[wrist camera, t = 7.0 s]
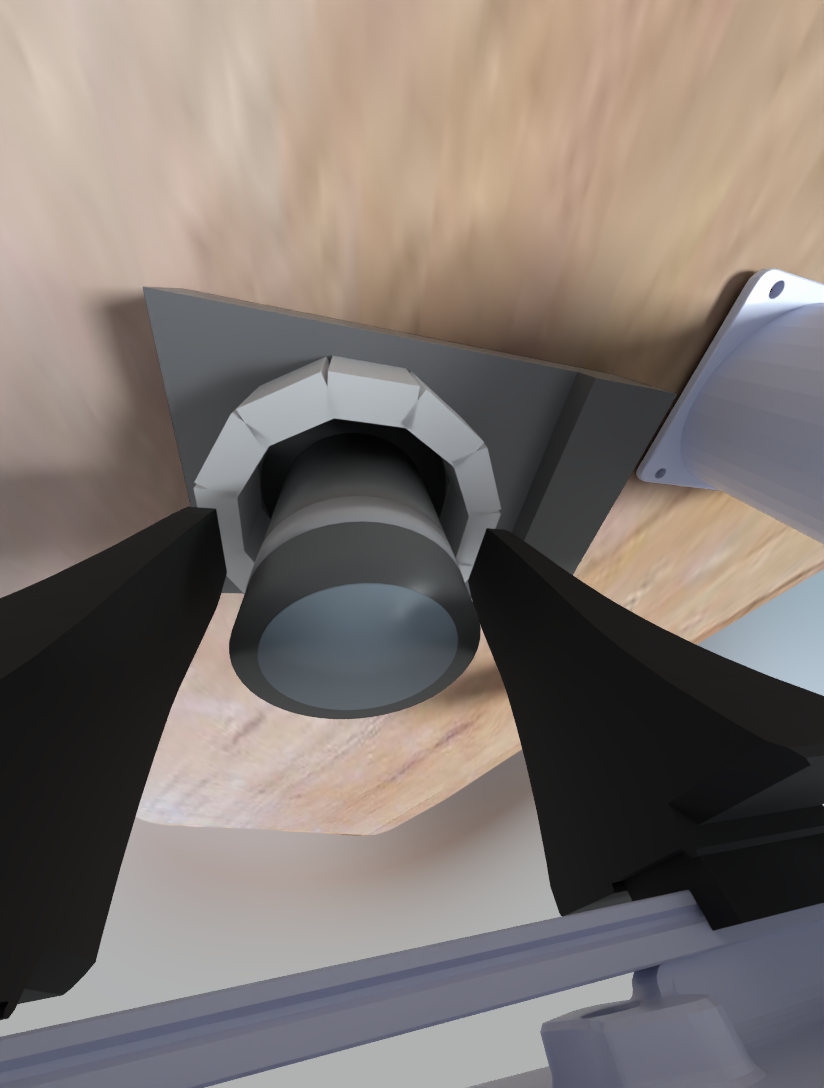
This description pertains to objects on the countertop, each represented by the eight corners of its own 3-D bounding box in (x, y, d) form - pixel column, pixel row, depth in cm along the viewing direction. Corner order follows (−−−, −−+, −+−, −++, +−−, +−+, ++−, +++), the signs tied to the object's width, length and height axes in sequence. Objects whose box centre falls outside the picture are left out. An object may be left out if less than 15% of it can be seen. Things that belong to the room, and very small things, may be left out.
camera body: (609, 373, 13) (719, 406, 9) (519, 568, 19) (565, 640, 15) (183, 288, 10) (74, 283, 6) (227, 554, 16) (185, 643, 12)
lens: (453, 481, 12) (531, 618, 7) (378, 574, 14) (395, 734, 9) (325, 399, 10) (300, 510, 5) (258, 523, 12) (189, 696, 7)
